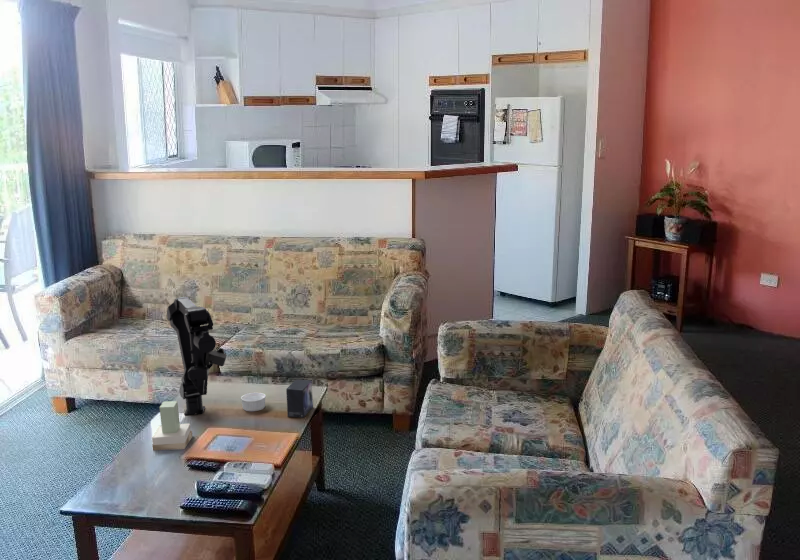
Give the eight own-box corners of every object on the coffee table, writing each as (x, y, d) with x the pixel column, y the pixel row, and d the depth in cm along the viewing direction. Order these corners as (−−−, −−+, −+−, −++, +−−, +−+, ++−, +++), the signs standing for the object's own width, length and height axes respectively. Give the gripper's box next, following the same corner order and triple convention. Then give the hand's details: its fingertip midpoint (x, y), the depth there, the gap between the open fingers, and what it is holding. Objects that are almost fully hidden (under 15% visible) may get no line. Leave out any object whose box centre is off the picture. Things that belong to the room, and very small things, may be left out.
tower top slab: (159, 432, 247) (159, 425, 247) (190, 430, 248) (189, 423, 248) (152, 445, 238) (152, 437, 237) (184, 442, 238) (184, 435, 238)
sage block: (166, 427, 245) (163, 401, 242) (180, 426, 245) (177, 401, 242) (162, 433, 240) (159, 407, 238) (176, 432, 240) (173, 406, 238)
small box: (304, 418, 261) (302, 389, 258) (286, 417, 262) (285, 389, 260) (314, 407, 271) (312, 379, 269) (297, 406, 272) (295, 378, 270)
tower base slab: (162, 438, 248) (161, 431, 248) (192, 437, 248) (192, 430, 248) (153, 451, 239) (152, 444, 238) (184, 450, 239) (183, 443, 238)
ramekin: (271, 405, 274) (270, 394, 273) (254, 414, 266) (253, 402, 265) (253, 401, 278) (252, 390, 277) (236, 409, 271) (235, 398, 270)
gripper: (220, 351, 243) (224, 397, 246) (226, 336, 261) (230, 378, 264) (185, 354, 242) (189, 399, 245) (194, 338, 260) (198, 381, 263)
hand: (203, 389), depth 254 cm, fingers open, 9 cm apart
